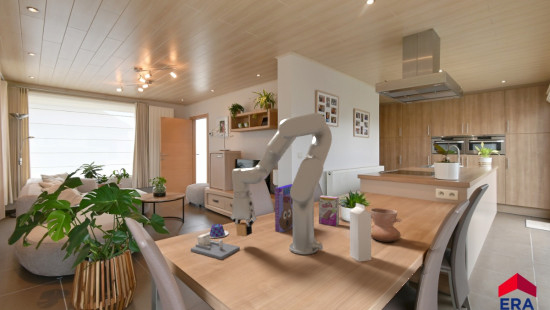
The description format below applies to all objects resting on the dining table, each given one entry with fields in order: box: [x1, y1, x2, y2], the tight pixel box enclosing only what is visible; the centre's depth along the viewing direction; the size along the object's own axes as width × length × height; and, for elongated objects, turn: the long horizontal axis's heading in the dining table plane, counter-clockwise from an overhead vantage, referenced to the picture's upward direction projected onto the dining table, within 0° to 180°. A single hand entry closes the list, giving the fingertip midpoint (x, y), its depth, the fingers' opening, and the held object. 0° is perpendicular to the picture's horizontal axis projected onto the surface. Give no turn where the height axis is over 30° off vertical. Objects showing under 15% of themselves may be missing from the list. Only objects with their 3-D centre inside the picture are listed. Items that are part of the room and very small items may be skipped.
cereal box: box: [274, 183, 293, 234], centre depth 142 cm, size 17×5×24 cm, turn 148°
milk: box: [349, 202, 372, 263], centre depth 101 cm, size 6×6×22 cm
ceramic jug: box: [370, 207, 403, 243], centre depth 123 cm, size 18×14×14 cm
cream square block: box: [197, 233, 211, 246], centre depth 115 cm, size 4×4×5 cm
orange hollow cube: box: [235, 221, 249, 237], centre depth 116 cm, size 5×5×5 cm
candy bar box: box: [318, 195, 340, 227], centre depth 148 cm, size 11×5×16 cm, turn 58°
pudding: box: [205, 223, 230, 239], centre depth 132 cm, size 12×12×5 cm
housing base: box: [190, 238, 241, 260], centre depth 111 cm, size 18×12×5 cm, turn 60°
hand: (244, 233), depth 116 cm, fingers closed on orange hollow cube, 5 cm apart
